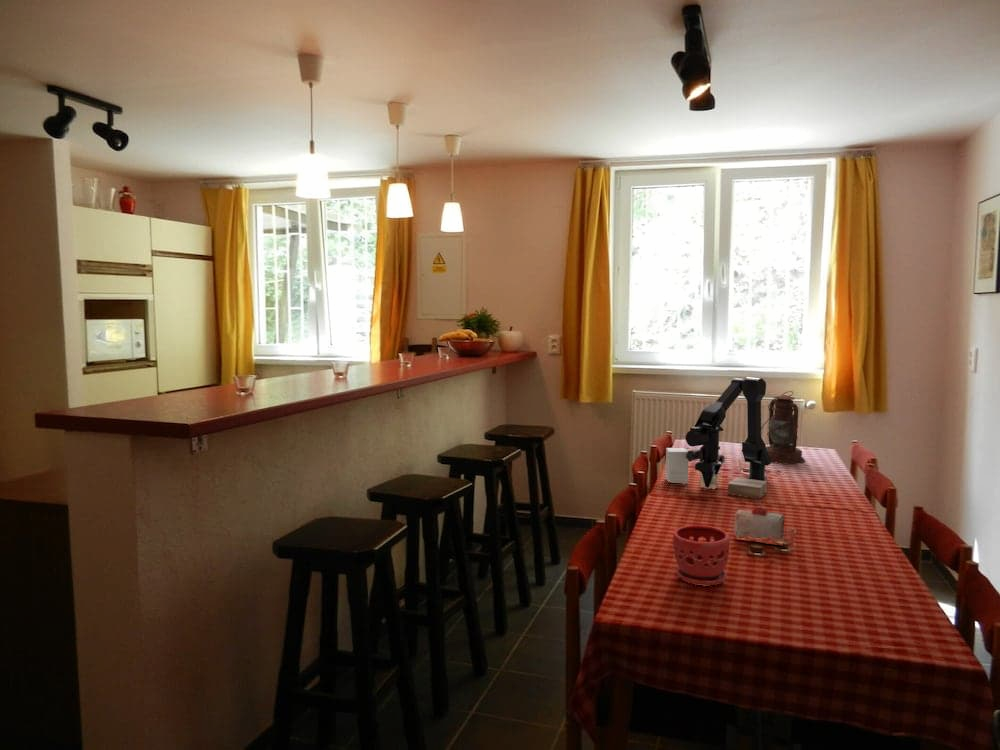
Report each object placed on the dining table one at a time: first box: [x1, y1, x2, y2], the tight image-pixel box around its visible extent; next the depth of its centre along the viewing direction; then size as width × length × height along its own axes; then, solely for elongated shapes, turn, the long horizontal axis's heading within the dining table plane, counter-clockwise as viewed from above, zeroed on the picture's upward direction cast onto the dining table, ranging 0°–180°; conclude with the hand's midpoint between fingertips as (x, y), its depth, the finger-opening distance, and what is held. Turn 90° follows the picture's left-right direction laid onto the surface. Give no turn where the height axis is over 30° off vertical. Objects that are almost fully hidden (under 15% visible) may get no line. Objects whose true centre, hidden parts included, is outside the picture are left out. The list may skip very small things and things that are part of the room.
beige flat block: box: [727, 477, 768, 500], centre depth 246 cm, size 11×11×4 cm
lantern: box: [761, 390, 806, 465], centre depth 301 cm, size 19×19×30 cm
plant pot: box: [672, 524, 730, 585], centre depth 168 cm, size 13×13×12 cm
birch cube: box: [700, 473, 719, 489], centre depth 253 cm, size 5×5×5 cm
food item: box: [734, 505, 785, 539], centre depth 196 cm, size 14×8×10 cm, turn 64°
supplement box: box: [665, 447, 689, 483], centre depth 262 cm, size 7×7×13 cm
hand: (709, 485), depth 254 cm, fingers open, 6 cm apart
